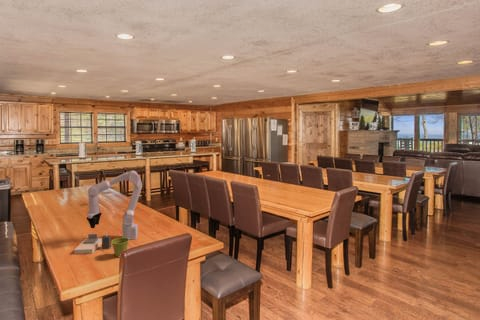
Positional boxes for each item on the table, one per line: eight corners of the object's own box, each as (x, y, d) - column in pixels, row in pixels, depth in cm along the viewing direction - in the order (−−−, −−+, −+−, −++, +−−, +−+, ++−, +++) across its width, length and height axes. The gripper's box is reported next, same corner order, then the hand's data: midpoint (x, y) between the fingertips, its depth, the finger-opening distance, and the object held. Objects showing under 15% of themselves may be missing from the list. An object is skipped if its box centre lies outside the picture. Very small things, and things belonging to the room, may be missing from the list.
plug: (111, 246, 190) (110, 233, 189) (109, 248, 186) (108, 235, 185) (104, 246, 189) (103, 233, 188) (102, 249, 186) (101, 235, 185)
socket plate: (102, 241, 197) (102, 238, 197) (92, 253, 179) (92, 249, 179) (86, 242, 196) (86, 238, 196) (74, 253, 178) (73, 249, 178)
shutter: (98, 238, 195) (98, 233, 194) (94, 243, 188) (94, 237, 187) (87, 239, 194) (87, 234, 194) (83, 243, 187) (83, 238, 187)
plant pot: (129, 257, 174) (128, 242, 173) (111, 259, 171) (110, 244, 170) (130, 251, 183) (129, 236, 182) (112, 252, 180) (112, 238, 179)
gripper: (91, 202, 202) (92, 222, 204) (82, 208, 188) (83, 230, 190) (102, 202, 203) (103, 222, 205) (94, 208, 189) (95, 229, 190)
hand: (94, 226), depth 197 cm, fingers open, 6 cm apart
